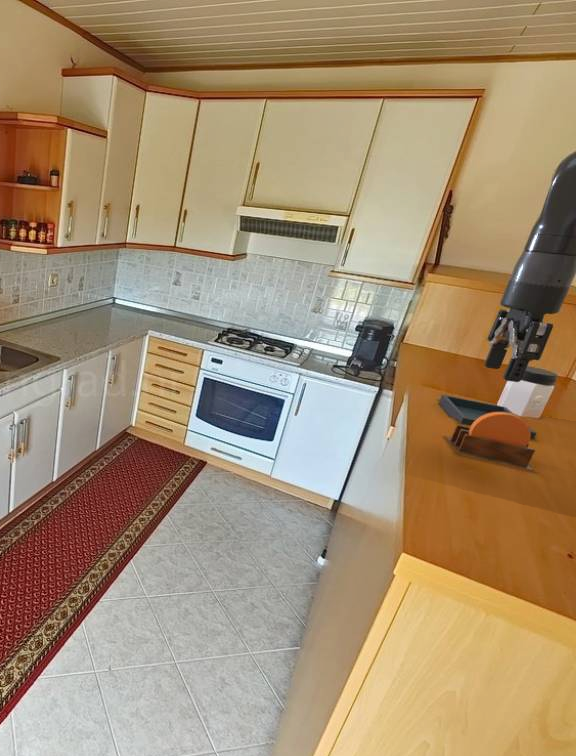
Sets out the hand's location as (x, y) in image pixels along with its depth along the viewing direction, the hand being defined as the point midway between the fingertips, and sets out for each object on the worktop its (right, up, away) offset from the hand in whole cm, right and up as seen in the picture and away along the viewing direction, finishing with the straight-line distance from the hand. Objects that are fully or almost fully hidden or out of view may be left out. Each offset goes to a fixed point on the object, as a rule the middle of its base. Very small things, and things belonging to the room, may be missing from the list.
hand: (500, 374), depth 86 cm
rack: (+8, -17, +13) cm, 22 cm away
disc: (+8, -16, +11) cm, 21 cm away
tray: (+24, -11, +32) cm, 42 cm away
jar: (+40, -10, +40) cm, 58 cm away
